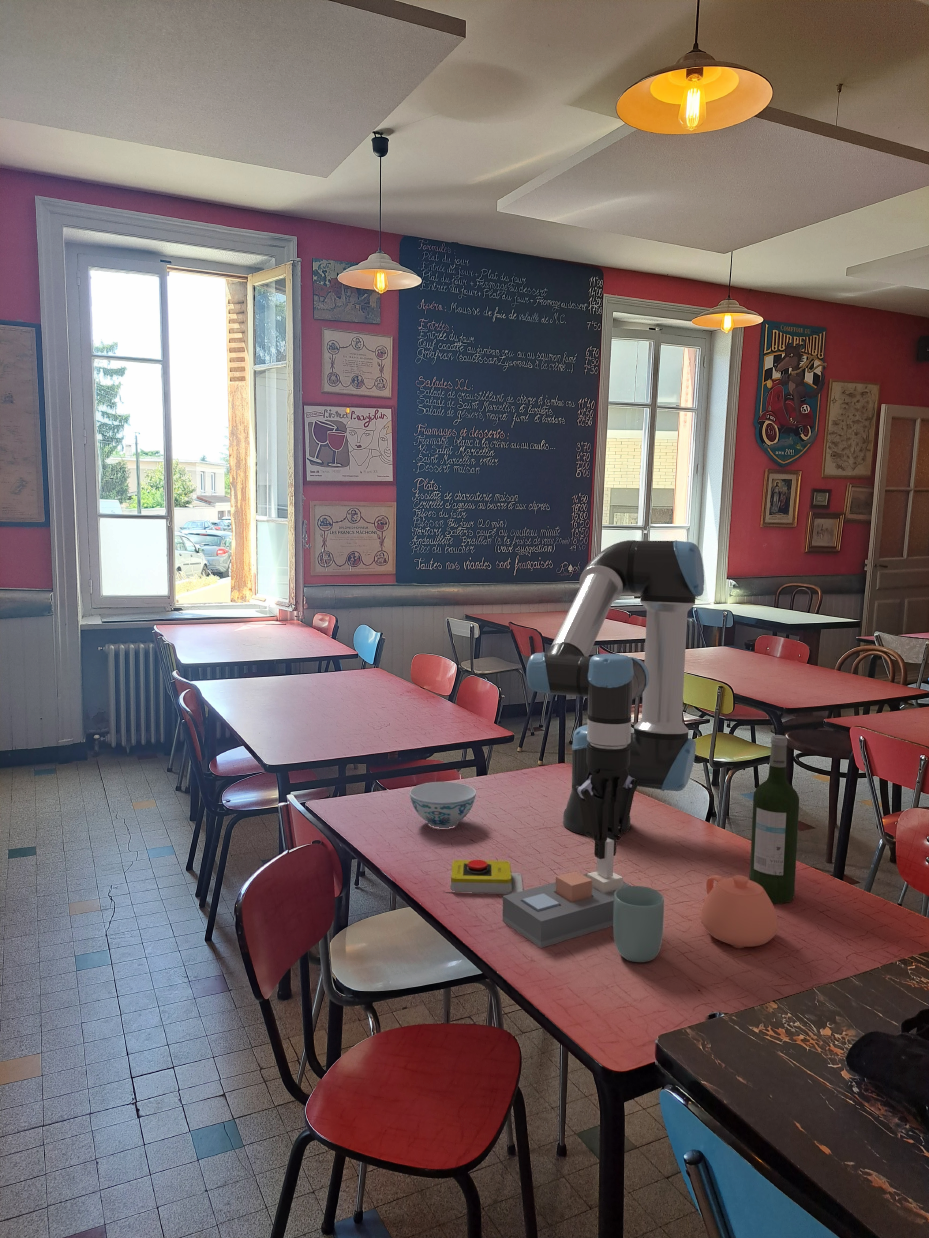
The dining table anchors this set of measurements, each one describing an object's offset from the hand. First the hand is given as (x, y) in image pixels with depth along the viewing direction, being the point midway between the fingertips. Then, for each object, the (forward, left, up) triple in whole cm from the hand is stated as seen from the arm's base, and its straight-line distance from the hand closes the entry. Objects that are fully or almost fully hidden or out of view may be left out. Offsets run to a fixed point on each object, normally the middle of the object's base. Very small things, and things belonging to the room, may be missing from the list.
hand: (604, 874), depth 152 cm
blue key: (+14, 0, -5) cm, 15 cm away
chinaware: (+3, -52, -7) cm, 53 cm away
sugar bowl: (-13, +18, -7) cm, 23 cm away
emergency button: (+12, -21, -7) cm, 25 cm away
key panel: (+7, 0, -7) cm, 9 cm away
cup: (+6, +15, -7) cm, 18 cm away
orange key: (+7, 0, -3) cm, 7 cm away
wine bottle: (-31, +11, -7) cm, 34 cm away
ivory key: (0, 0, -4) cm, 4 cm away
